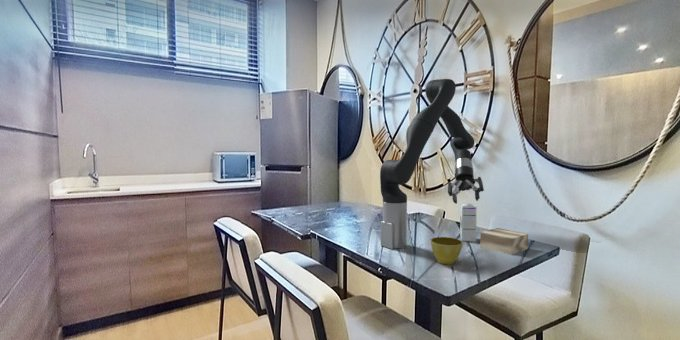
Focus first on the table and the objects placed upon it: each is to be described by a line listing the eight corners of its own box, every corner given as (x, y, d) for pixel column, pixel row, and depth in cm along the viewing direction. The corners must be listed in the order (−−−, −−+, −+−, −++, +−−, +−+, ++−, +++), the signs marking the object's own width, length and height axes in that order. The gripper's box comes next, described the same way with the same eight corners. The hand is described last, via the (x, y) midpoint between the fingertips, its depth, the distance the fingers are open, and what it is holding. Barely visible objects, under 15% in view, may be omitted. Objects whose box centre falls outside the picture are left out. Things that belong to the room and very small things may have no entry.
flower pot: (464, 268, 110) (464, 245, 110) (431, 266, 112) (431, 244, 112) (459, 258, 120) (459, 237, 120) (429, 256, 122) (429, 236, 121)
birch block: (511, 255, 124) (511, 238, 123) (480, 247, 133) (480, 232, 133) (527, 249, 131) (528, 233, 130) (497, 242, 140) (497, 227, 140)
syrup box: (476, 241, 140) (477, 206, 140) (461, 241, 142) (462, 205, 141) (474, 238, 146) (475, 203, 145) (459, 237, 147) (460, 203, 146)
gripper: (445, 168, 155) (446, 198, 146) (478, 162, 149) (482, 193, 139) (450, 178, 160) (451, 208, 151) (482, 172, 153) (486, 203, 144)
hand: (466, 201), depth 145 cm, fingers open, 8 cm apart
